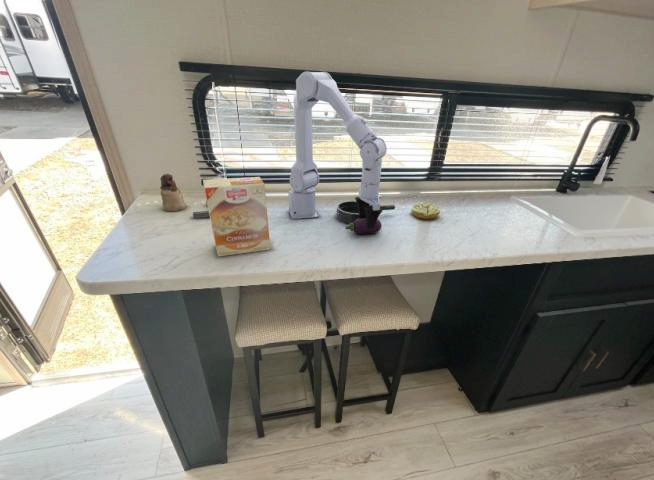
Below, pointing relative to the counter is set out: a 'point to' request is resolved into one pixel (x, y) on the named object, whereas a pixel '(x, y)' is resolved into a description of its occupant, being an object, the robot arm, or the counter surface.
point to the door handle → (201, 214)
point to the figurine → (171, 194)
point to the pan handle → (387, 207)
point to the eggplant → (363, 226)
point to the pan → (348, 211)
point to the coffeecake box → (238, 215)
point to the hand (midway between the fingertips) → (366, 223)
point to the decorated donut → (425, 210)
